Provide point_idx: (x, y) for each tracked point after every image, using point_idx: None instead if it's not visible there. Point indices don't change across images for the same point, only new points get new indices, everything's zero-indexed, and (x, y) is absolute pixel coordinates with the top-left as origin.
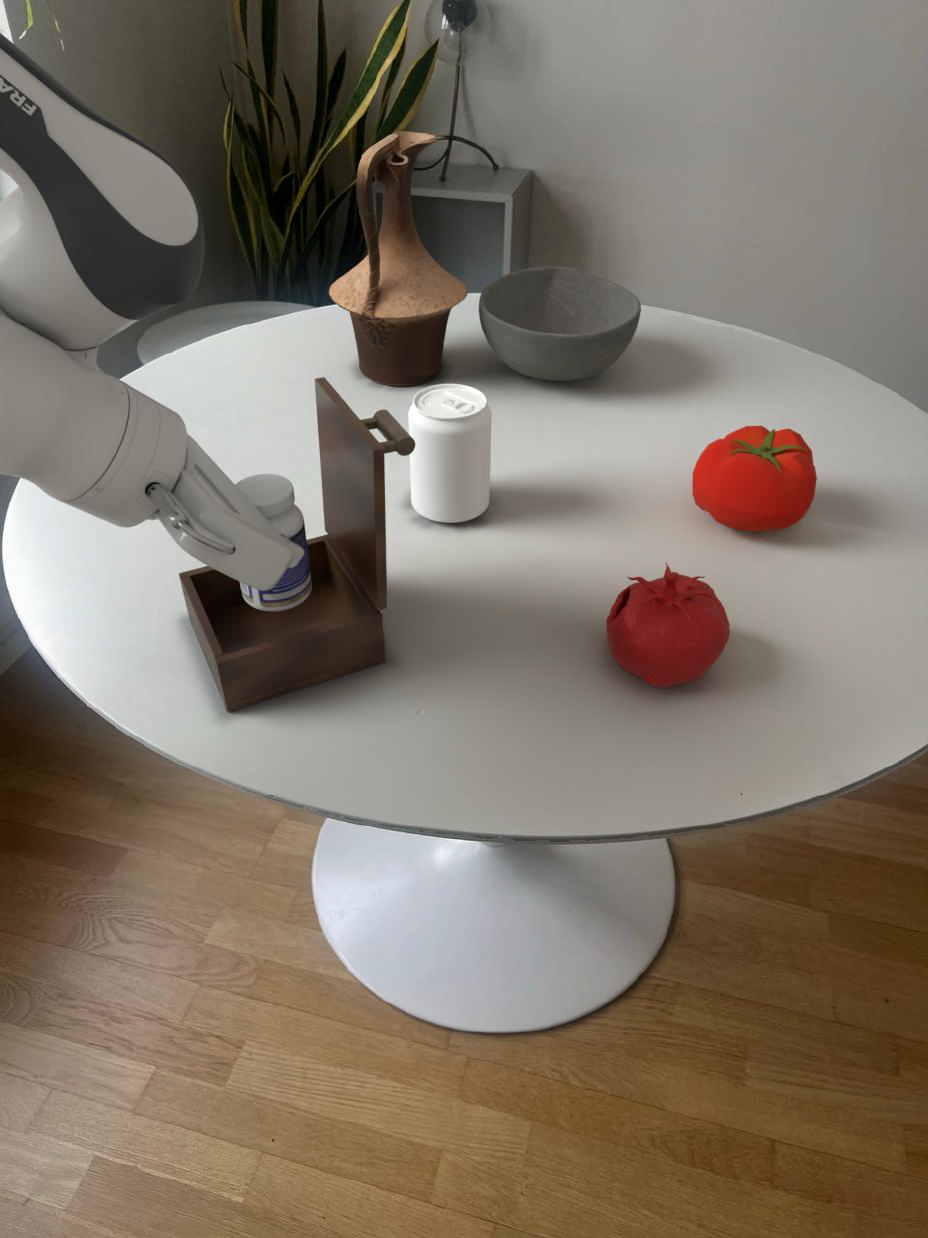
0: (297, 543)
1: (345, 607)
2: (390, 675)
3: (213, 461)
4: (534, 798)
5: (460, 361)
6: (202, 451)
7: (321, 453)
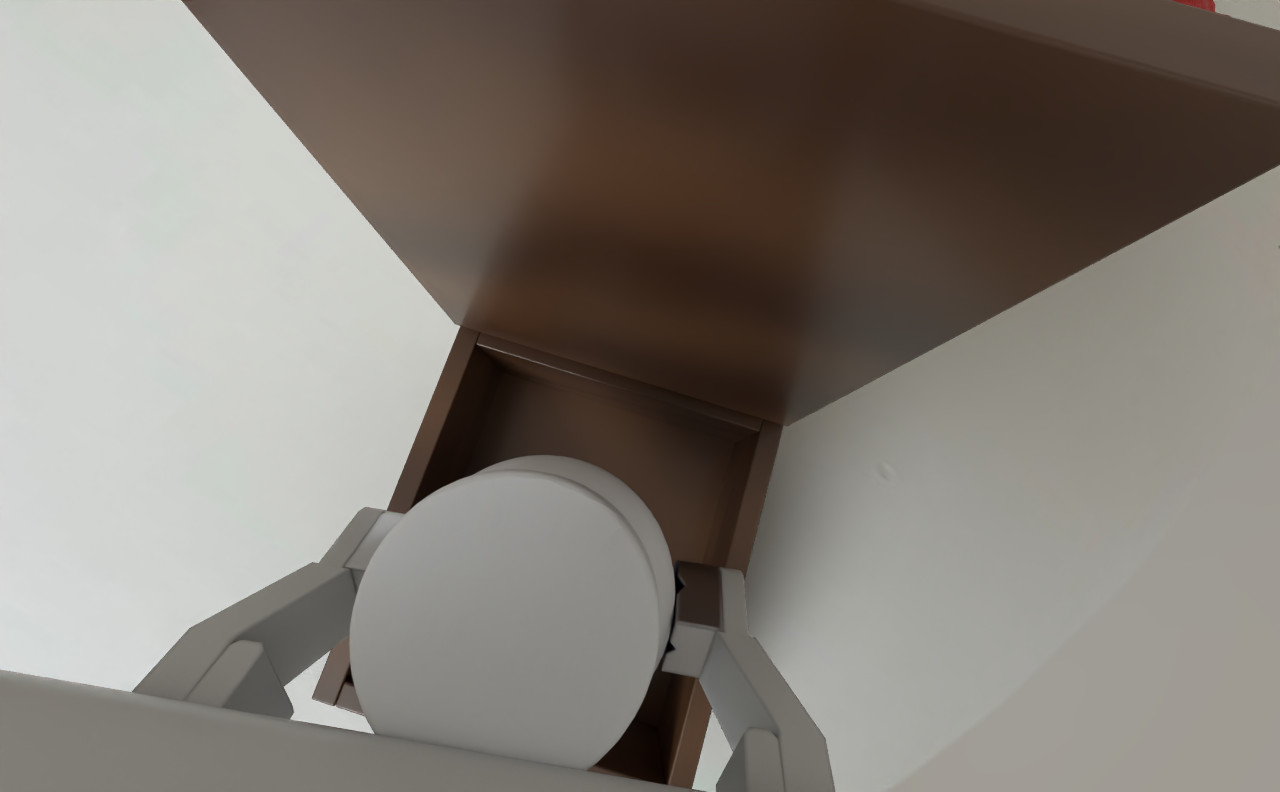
0: (703, 570)
1: (593, 401)
2: (781, 450)
3: (100, 721)
4: (1137, 464)
5: None
6: None
7: (361, 193)
